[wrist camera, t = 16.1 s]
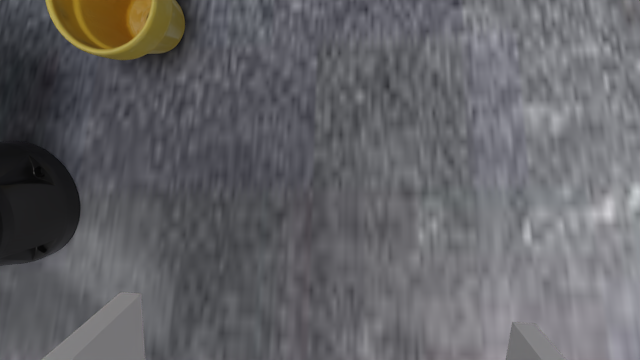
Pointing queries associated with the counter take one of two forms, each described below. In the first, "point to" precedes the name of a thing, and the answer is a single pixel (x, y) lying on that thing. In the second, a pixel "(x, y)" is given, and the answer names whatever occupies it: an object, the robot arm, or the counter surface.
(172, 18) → the plant pot
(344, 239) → the counter surface
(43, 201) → the robot arm
